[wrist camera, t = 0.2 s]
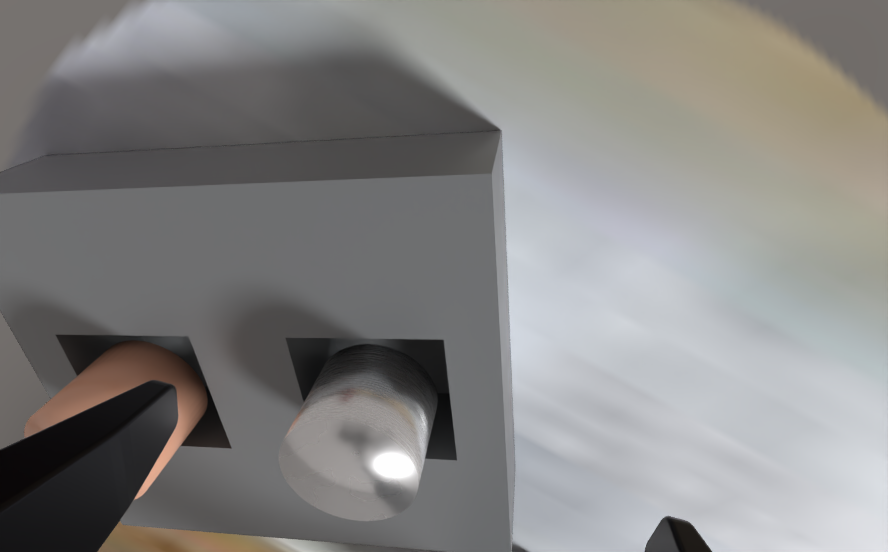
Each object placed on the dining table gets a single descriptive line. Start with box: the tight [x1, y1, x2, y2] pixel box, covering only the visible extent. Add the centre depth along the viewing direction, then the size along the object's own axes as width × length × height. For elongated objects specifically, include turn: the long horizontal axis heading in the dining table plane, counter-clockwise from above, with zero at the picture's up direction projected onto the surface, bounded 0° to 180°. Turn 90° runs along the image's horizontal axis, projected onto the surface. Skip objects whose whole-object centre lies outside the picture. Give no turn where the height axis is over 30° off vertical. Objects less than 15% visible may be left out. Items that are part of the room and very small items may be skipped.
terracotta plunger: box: [24, 340, 208, 500], centre depth 22 cm, size 5×5×4 cm
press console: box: [0, 131, 515, 552], centre depth 24 cm, size 18×20×5 cm
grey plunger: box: [279, 344, 438, 521], centre depth 20 cm, size 5×5×4 cm
